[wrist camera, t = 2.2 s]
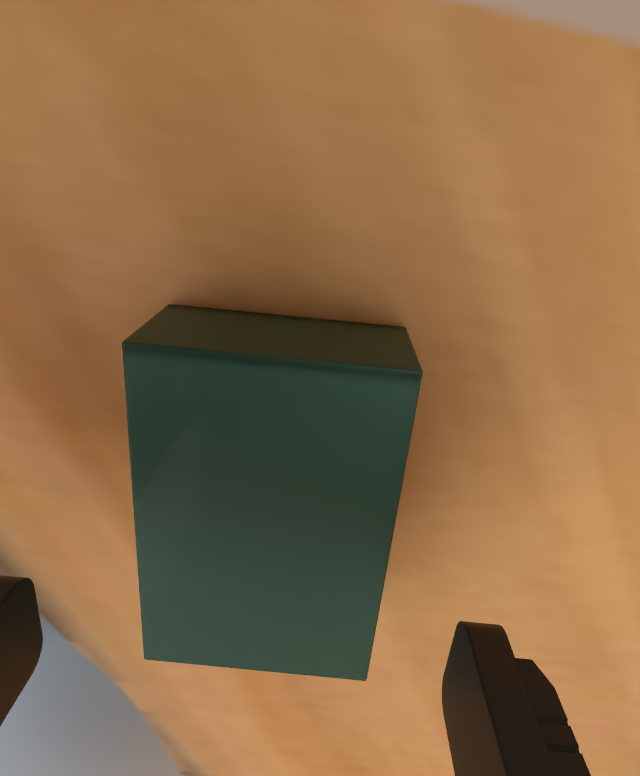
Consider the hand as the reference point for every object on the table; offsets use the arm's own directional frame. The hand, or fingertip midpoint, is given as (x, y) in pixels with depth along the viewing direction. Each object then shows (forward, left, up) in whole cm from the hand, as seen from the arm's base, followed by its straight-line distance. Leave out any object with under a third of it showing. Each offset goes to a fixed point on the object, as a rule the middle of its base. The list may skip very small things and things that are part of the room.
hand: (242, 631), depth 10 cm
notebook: (0, 0, -6) cm, 6 cm away
